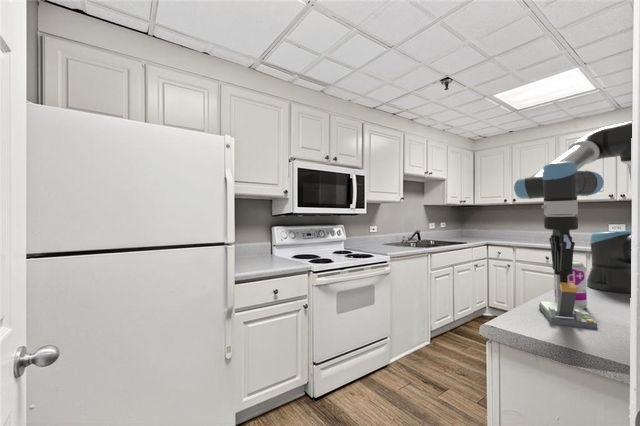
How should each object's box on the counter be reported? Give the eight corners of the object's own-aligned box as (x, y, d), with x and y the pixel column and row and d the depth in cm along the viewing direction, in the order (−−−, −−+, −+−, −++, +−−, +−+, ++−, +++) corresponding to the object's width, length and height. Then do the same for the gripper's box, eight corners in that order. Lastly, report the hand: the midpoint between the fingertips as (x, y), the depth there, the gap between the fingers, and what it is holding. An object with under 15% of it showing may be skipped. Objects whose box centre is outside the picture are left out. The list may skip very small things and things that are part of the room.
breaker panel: (577, 312, 90) (577, 299, 90) (597, 328, 78) (596, 314, 78) (539, 308, 95) (538, 296, 95) (551, 323, 82) (551, 310, 82)
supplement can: (590, 311, 91) (589, 264, 91) (557, 307, 95) (556, 263, 95) (582, 303, 98) (580, 260, 98) (552, 301, 102) (550, 259, 102)
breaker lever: (572, 314, 83) (577, 283, 78) (575, 319, 81) (580, 288, 77) (553, 312, 84) (557, 282, 80) (555, 317, 83) (559, 287, 79)
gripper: (538, 215, 90) (540, 289, 90) (550, 216, 78) (553, 301, 78) (568, 215, 86) (571, 292, 86) (586, 216, 75) (588, 304, 75)
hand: (562, 296), depth 82 cm, fingers closed
